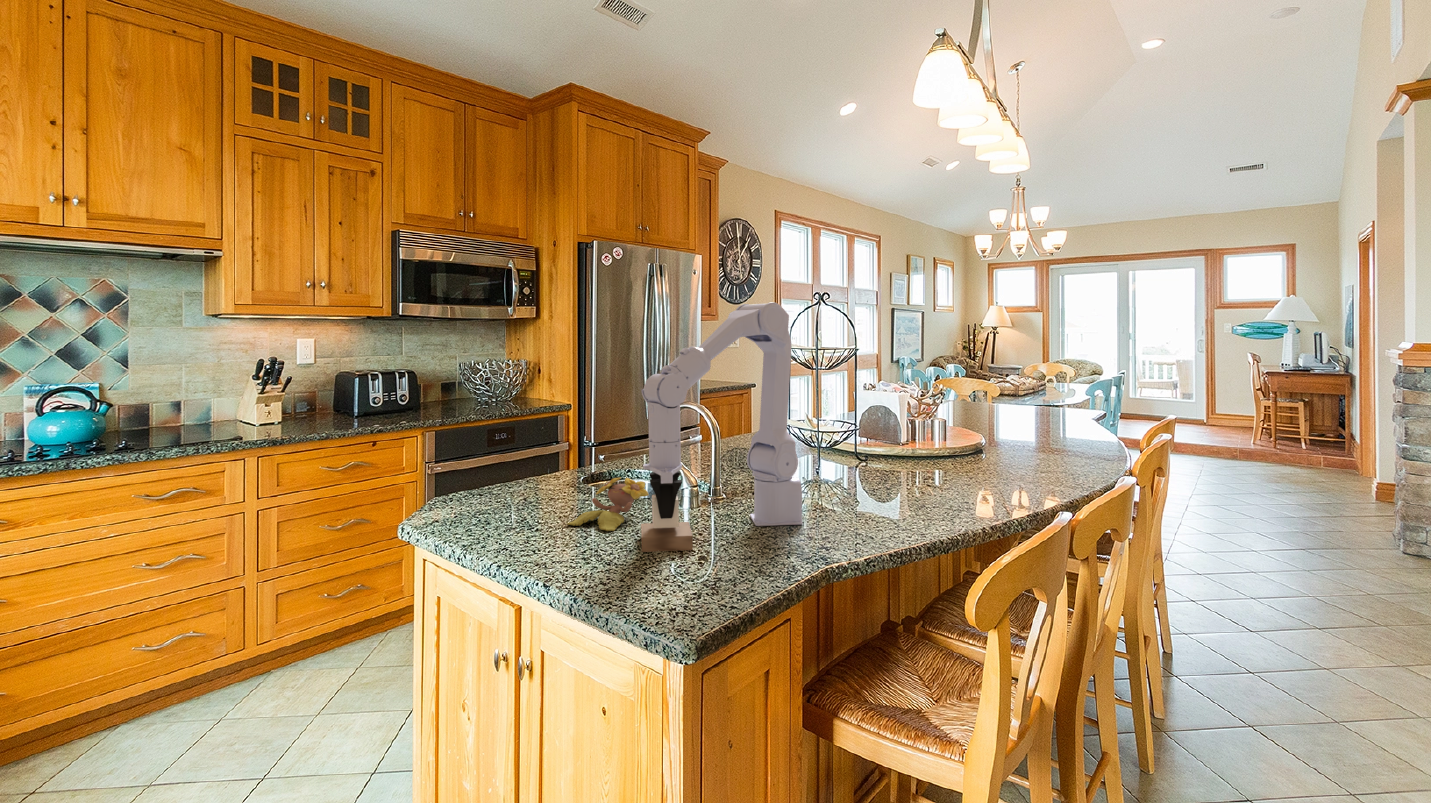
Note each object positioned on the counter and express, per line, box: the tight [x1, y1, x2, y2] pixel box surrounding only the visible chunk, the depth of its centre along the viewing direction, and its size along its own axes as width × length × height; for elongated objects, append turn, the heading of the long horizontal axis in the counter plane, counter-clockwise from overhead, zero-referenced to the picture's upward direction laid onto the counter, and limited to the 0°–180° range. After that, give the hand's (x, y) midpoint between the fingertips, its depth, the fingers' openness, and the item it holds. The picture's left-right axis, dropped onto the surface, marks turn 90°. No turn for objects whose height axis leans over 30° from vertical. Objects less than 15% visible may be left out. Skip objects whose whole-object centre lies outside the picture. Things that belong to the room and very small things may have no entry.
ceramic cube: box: [651, 494, 680, 528], centre depth 125 cm, size 5×5×5 cm
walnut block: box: [640, 521, 694, 553], centre depth 126 cm, size 9×9×3 cm
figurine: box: [566, 476, 650, 532], centre depth 142 cm, size 12×9×15 cm
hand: (665, 514), depth 125 cm, fingers closed on ceramic cube, 4 cm apart
